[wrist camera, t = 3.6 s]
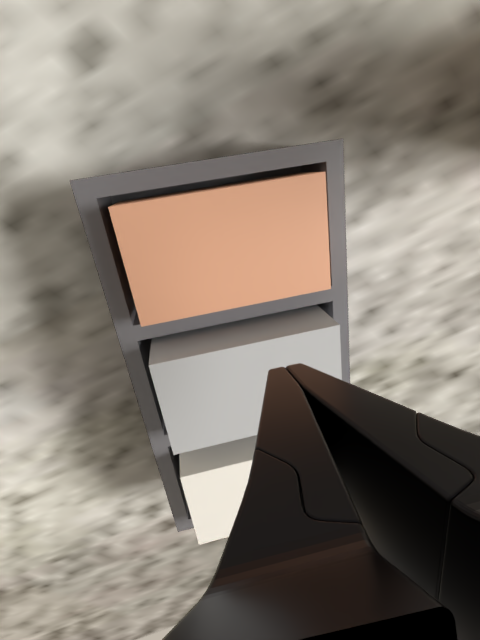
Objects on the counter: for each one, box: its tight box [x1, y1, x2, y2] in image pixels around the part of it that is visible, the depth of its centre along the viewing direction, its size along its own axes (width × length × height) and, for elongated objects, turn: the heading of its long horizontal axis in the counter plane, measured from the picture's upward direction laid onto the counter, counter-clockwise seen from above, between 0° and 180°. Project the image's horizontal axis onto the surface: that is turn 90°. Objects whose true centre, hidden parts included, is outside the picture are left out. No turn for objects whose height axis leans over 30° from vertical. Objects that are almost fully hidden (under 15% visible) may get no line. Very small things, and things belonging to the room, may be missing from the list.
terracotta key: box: [108, 172, 331, 327], centre depth 15 cm, size 4×8×3 cm, turn 99°
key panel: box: [70, 139, 350, 532], centre depth 18 cm, size 18×10×4 cm, turn 9°
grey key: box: [148, 304, 342, 455], centre depth 16 cm, size 4×8×3 cm, turn 99°
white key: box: [179, 435, 257, 545], centre depth 18 cm, size 4×8×3 cm, turn 99°
